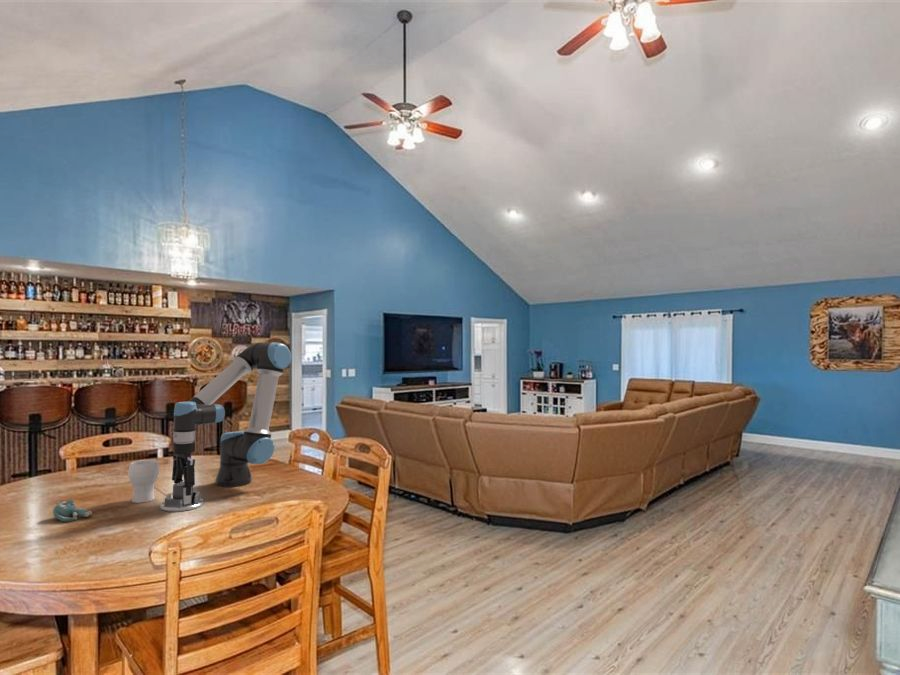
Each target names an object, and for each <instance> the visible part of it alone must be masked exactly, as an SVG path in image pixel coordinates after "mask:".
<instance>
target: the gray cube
mask: <svg viewBox="0 0 900 675" xmlns="http://www.w3.org/2000/svg"><path fill="white" fill-rule="evenodd" d="M183 486H185V484H184V481H183V482H180V483H176V484H175V483H174V484H172V499H183ZM193 491H194V486H192V490H191V503H192V502H193ZM182 505H183V502H182ZM185 505H187V504H185Z"/></svg>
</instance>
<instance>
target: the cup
mask: <svg viewBox="0 0 900 675" xmlns="http://www.w3.org/2000/svg"><path fill="white" fill-rule="evenodd" d="M159 475H160V465H159V461H158V460H157V459H142V460H140V459H139V460H136V461H132V462H130V463H129V467H128V474H127V476H128V479H129V482H130V483H131V485H132V488H133V489H132V490H133V493H132V496H131V502H132V503H137V504H138V503H139V504H140V503H146V502H151V501H154V500H155V493H154V492H155V491H154V486H155V482H156V481H157V479H158V478H159Z"/></svg>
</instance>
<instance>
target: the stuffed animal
mask: <svg viewBox="0 0 900 675" xmlns="http://www.w3.org/2000/svg"><path fill="white" fill-rule="evenodd" d="M52 514H53V517H54V518H55V519H57V520H59V521H60V522H62V523H68V522H72V521H73V522H74V521H77V519H78V517H79V518H80V517H84V518H85V517H87V518H88V517H89V516H91V515H92V514H93V512H92V511H91V510H86V508H82V507H78V508H77V507H76V503H75V502H74V499H69V500H68V501H62V502H60V503H57V504H56V505H55V506H54V508H53V512H52ZM71 516H72V517H71Z"/></svg>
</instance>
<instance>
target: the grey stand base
mask: <svg viewBox="0 0 900 675" xmlns="http://www.w3.org/2000/svg"><path fill="white" fill-rule="evenodd" d="M182 502H183V499H173V497H172V494H171V493H168V494H166V495H165V497H164V502H163V503H160V505H159V508H160V511H162V512H168V513H169V512H170V513H179V512H187V511H192V510H196V509H199V508H201V507H202V506H204V504H205V500H204V499H203V498H201V491H196V490H195V491H194V490H193V502H192V503H190V504H187V505H182Z"/></svg>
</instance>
